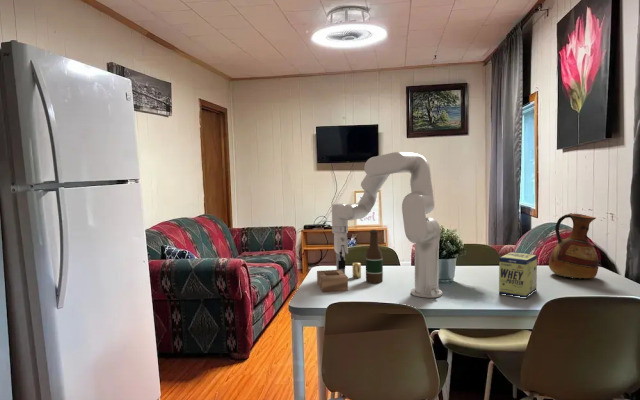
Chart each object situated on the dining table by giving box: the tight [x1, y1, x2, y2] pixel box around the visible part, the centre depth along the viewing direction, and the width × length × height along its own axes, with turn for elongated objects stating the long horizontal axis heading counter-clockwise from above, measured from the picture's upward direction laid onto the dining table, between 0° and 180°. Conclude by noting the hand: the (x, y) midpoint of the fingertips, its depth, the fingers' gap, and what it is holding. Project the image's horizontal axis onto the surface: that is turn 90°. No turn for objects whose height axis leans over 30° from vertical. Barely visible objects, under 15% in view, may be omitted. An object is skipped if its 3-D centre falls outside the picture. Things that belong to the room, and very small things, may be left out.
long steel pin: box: [335, 252, 346, 275], centre depth 204 cm, size 4×4×14 cm
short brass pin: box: [352, 262, 362, 280], centre depth 206 cm, size 4×4×7 cm
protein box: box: [498, 251, 538, 297], centre depth 176 cm, size 10×16×16 cm
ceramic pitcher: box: [548, 212, 599, 279], centre depth 200 cm, size 20×20×30 cm
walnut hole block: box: [316, 269, 349, 293], centre depth 189 cm, size 14×11×6 cm
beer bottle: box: [365, 229, 384, 284], centre depth 197 cm, size 8×8×24 cm
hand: (340, 267), depth 204 cm, fingers closed on long steel pin, 4 cm apart
